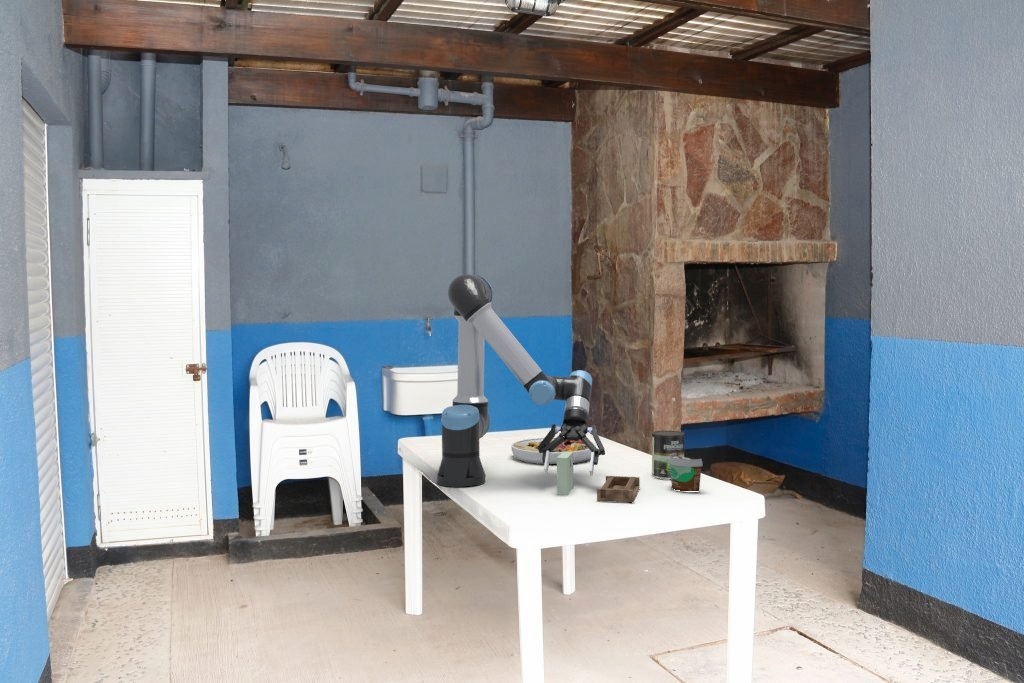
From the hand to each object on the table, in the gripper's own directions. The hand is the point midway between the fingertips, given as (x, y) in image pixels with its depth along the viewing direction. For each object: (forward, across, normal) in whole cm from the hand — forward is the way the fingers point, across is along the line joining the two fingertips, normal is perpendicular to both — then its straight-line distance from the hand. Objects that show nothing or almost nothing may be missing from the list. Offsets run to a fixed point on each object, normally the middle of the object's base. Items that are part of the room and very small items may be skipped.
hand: (568, 472), depth 251 cm
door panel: (+4, +1, -4) cm, 6 cm away
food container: (-2, -32, -11) cm, 34 cm away
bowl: (-31, +14, -40) cm, 53 cm away
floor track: (+5, -15, -3) cm, 16 cm away
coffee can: (-15, -27, -24) cm, 39 cm away
